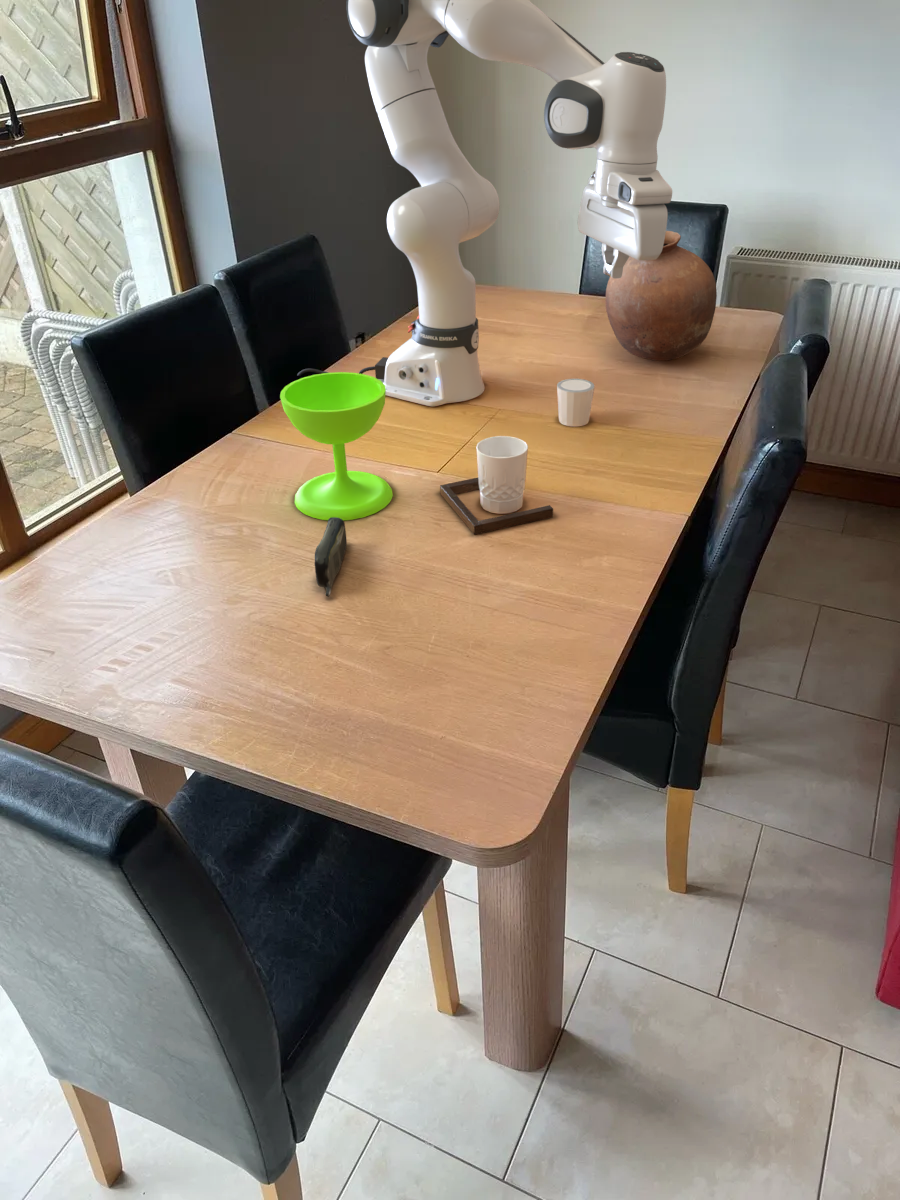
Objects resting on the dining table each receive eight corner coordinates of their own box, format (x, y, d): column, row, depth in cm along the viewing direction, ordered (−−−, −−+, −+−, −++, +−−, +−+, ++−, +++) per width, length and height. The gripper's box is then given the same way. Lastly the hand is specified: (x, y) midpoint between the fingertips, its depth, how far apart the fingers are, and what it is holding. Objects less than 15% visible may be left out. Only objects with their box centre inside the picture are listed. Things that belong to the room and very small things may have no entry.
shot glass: (590, 429, 168) (593, 392, 164) (553, 426, 170) (555, 390, 166) (593, 414, 174) (595, 378, 170) (557, 412, 175) (558, 376, 171)
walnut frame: (513, 478, 153) (513, 469, 152) (553, 517, 142) (553, 508, 141) (440, 493, 149) (439, 485, 148) (474, 535, 138) (474, 525, 137)
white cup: (533, 497, 147) (534, 439, 142) (517, 519, 141) (518, 460, 136) (487, 489, 150) (486, 432, 144) (469, 511, 144) (468, 453, 138)
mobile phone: (325, 514, 134) (308, 566, 122) (346, 514, 134) (331, 566, 122) (329, 543, 137) (312, 598, 125) (349, 543, 137) (334, 598, 125)
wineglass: (350, 465, 158) (341, 364, 148) (413, 495, 149) (407, 389, 139) (274, 497, 149) (258, 392, 139) (336, 531, 140) (324, 421, 129)
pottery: (722, 346, 202) (740, 227, 188) (685, 380, 187) (701, 253, 172) (626, 331, 213) (636, 217, 199) (583, 362, 197) (590, 240, 183)
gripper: (573, 169, 143) (564, 260, 151) (641, 194, 127) (627, 295, 135) (608, 167, 145) (597, 258, 153) (679, 192, 129) (664, 292, 137)
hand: (612, 276), depth 144 cm, fingers closed
